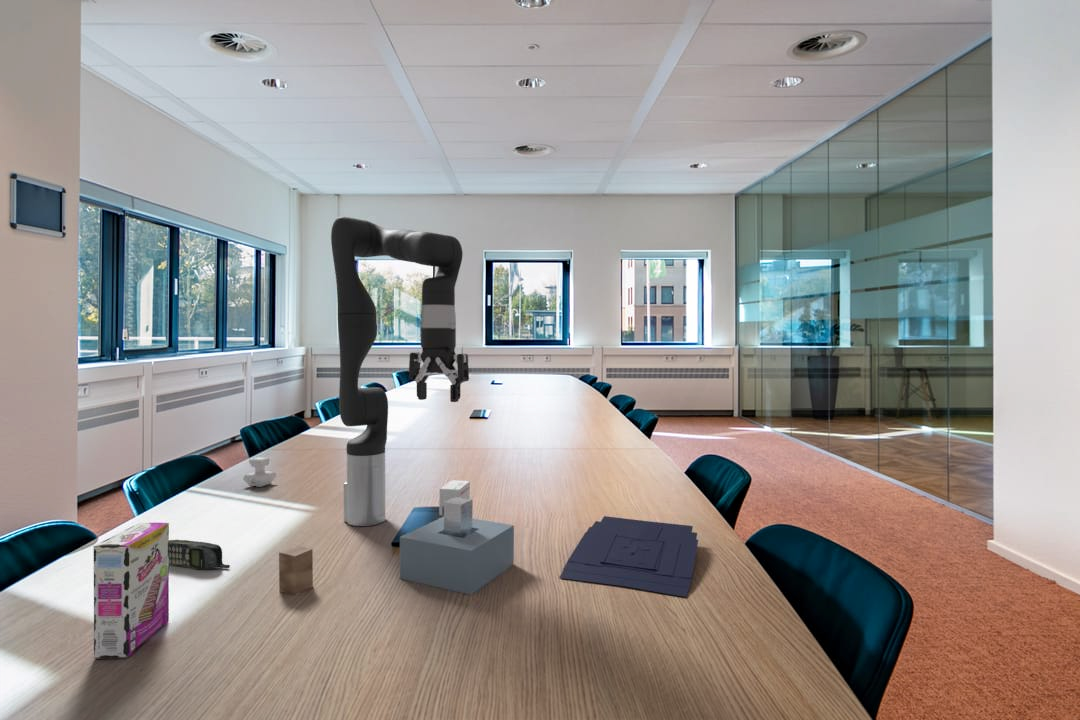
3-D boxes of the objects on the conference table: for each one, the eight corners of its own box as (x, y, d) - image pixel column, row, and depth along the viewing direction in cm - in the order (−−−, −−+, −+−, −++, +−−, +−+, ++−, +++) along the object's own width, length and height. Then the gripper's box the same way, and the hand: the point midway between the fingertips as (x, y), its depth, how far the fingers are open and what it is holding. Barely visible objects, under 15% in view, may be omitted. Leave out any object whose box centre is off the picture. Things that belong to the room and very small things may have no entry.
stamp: (259, 490, 176) (259, 461, 176) (240, 488, 178) (239, 460, 177) (279, 482, 185) (279, 456, 184) (260, 481, 186) (260, 454, 186)
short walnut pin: (279, 590, 107) (278, 552, 107) (297, 582, 111) (296, 545, 110) (295, 594, 105) (294, 556, 105) (312, 586, 109) (312, 548, 109)
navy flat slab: (701, 538, 133) (701, 523, 133) (687, 611, 105) (687, 592, 105) (596, 526, 141) (596, 511, 141) (558, 590, 114) (557, 573, 113)
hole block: (399, 578, 113) (399, 536, 112) (448, 551, 127) (448, 514, 127) (471, 594, 106) (471, 550, 105) (513, 564, 120) (513, 525, 120)
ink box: (451, 527, 143) (451, 479, 143) (470, 529, 142) (471, 480, 142) (437, 539, 135) (437, 488, 134) (458, 541, 134) (459, 489, 133)
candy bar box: (129, 659, 84) (127, 545, 83) (92, 660, 84) (90, 546, 83) (172, 621, 95) (170, 520, 95) (139, 622, 95) (137, 521, 94)
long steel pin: (443, 572, 116) (443, 501, 115) (455, 565, 119) (455, 497, 119) (460, 576, 114) (461, 504, 113) (472, 569, 117) (472, 499, 117)
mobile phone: (157, 542, 118) (220, 547, 114) (169, 537, 121) (231, 542, 117) (158, 566, 118) (221, 572, 115) (170, 561, 121) (232, 566, 118)
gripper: (401, 326, 128) (401, 400, 129) (456, 326, 122) (456, 404, 123) (422, 326, 135) (422, 397, 136) (475, 326, 129) (475, 400, 130)
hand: (438, 400), depth 129 cm, fingers open, 8 cm apart
